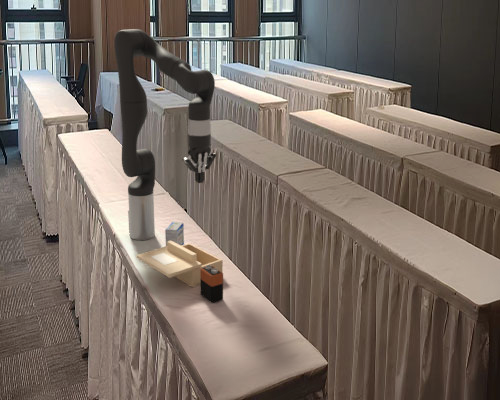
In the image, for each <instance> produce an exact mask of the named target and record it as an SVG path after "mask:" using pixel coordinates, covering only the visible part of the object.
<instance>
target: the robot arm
mask: <svg viewBox="0 0 500 400" xmlns="http://www.w3.org/2000/svg"><path fill="white" fill-rule="evenodd" d="M113 41H114V42H113V43H114V44H113V46H114V54H115V61H116V67H117V68H116V69H117V72H118V73H117V75H118V85H119V86H118V87H119V101H120V102H119V104H120V106H119V107H120V116H121V118H120V119H121V134H122V135H121V139H122V140H121V166H122V170H123V173H124V174H125V176H126V177H129V178H134V177H136V178H135V179H134V180H133V181H132V182H130V183H129V185H128V186H127V194H128V196H127V197H128V210H127V214H128V215H127V216H128V234H129V233H130V234H129V237H130V238H131V239H133V240H137V241H145V240H147V241H148V240H151V239H153V238H154V237H155V236H156V234H155V233H156V231H155V230H156V229H155V225H156V223H155V203H154V201H155V200H154V198H155V197H154V194H155V193H154V188H155V184H156V160H155V156H154V154H153V152H152V150H150V149H149V148H141V149H138V148H137V146H138V145H137V144H138V137H139V135H140V133H141V131H142V128H143V126H144V124H145V122H146V119H147V116H148V99H147V93H146V91H145V89H144V87H143V85H142V84H141V82H140V80H139V79H138V77H137V74H136V70H135V62H134V58H139V57H144V58H147V59H149V60H151V61H153V62H154V63H155V65H156V66H157V68H158V69H159V71H160V72H161V73H162V74H164V75H165V76H167V77H168V78H170V79H172V80H174V81H175V82H176V83H177V84H178V85H179V86H180V87H181V89H183V90H184V91H185V92H187V93H189V94H191V95H195V98H193V99H192V100H191V101H189V103H188V105H187V106H188V108H187V109H188V110H187V111H188V121H187V122H188V123H187V145H188V151H187V155H186V156H185V157H182V159H181V160H182V162H184V165H186V167H187V168H188V169H189V171H192V172H193V173H194V180H195V182H196V183H197V184H203V183H204V182H205V172H206V171H207V170H209V169H210V167H211V166H212V165H213V162H214V161H215V159H216V157H217V154H216V153H214V152H212V150H211V144H212V137H211V136H212V135H211V134H212V129H211V128H212V125H211V104H212V101H213V96H214V92H215V85H216V82H215V77H214V75H213V73H212V72H211V71H209V70H207V69H202V70H196V71H195V70H194V71H193V70H192V66H191V65H190V63H189V62H187V61H185V59H182V58H180V57H178V56H176V55H175V54H173V53H172V52H170V51H168V50H167V49H166V48H165V47H163V46H162V45H161V44H159V42H157V41H156V40H154V38H152V37H151V36H150V35H149V34H148V33H147V32H145V31H144V30H143V29H140V28H139V29H138V28H132V29H121V30H118V31H117V32H116V34H115V35H114V39H113Z"/></svg>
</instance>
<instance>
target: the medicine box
mask: <svg viewBox="0 0 500 400" xmlns="http://www.w3.org/2000/svg"><path fill="white" fill-rule="evenodd" d="M184 229H185V228H184V222H177V221H172V222H171V223H170V224H169V225H168V227H166V228H165V229H164V230H165V232H164V233H165V246H167V241H173V242H175V243H177V244H179V245H185V235H184V233H185V231H184Z"/></svg>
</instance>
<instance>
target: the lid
mask: <svg viewBox="0 0 500 400" xmlns="http://www.w3.org/2000/svg"><path fill="white" fill-rule="evenodd" d="M136 259H138V260H139V261H141V262H142V263H145V264H146V265H147V266H150V267H151V268H152V269H154V270H156V271H158V272H159V273H161V274H162V275H164V276H166V277H168V278H172V277H175V275H178V274H181V273H184V272H187V271H190V270H193V269H196V268H199V267H202V263H200V262H198V261H197V256H196V253H194V252H192V251H190V250H188V249H186V248H184V247H183V246H181V245H179V244H177V243H175V242H173V241H167V246H166V245H165V246H162V247H159V248H156V249H152V250H149V251H146V252H143V253H139V254H136Z"/></svg>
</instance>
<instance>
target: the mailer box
mask: <svg viewBox="0 0 500 400" xmlns="http://www.w3.org/2000/svg"><path fill="white" fill-rule="evenodd" d="M181 246H183V247H184V248H186V249H188V250H190V251H192V252H194V253H196V256H197V261H198V262H200V263H202V267H199V268H196V269H193V270H190V271H187V272H184V273H181V274H178V275H175V276H174V278H177V279H178V280H179V281H181V282H183V283H185V284H187V285H188V286H190V287H192V288H195V287H197V286H201V272H200V270H201V268H204V267H206V266H207V265H211V266H213V267H215V268H216V269H218V270H219V271H221V272H222V273H223V262H224V259H222V258H219V257H217V256H215V255H214V254H211V253H210V252H208V251H205V250H204V249H203V248H201V247H198V246H197V245H194V244H192V243H190V242H189V243H184V245H181Z"/></svg>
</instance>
